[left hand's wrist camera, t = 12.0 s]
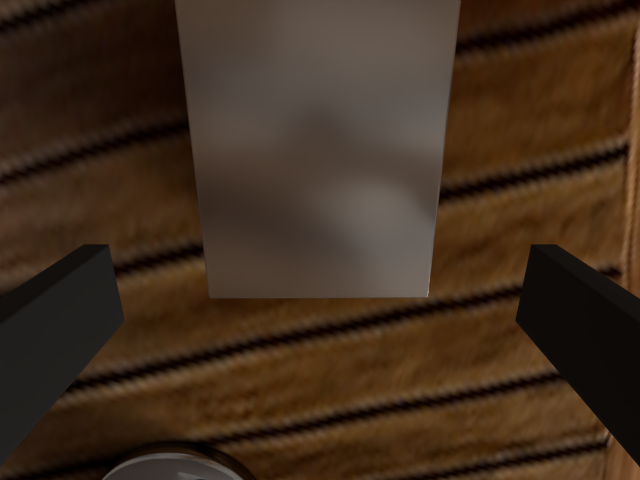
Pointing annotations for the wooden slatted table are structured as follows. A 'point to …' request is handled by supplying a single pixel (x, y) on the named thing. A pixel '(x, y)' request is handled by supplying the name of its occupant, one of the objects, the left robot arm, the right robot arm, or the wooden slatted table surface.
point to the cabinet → (318, 142)
